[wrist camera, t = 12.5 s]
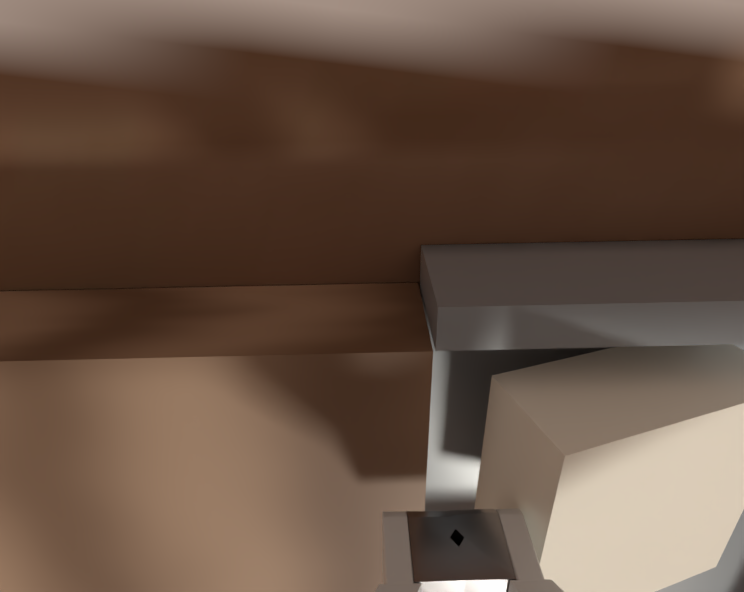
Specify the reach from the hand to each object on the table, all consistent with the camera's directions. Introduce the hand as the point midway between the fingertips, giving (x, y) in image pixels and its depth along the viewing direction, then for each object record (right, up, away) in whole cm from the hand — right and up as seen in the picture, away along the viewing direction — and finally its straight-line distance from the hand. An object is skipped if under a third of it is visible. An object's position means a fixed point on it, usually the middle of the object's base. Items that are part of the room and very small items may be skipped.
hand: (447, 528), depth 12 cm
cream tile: (+4, +1, +2) cm, 5 cm away
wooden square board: (-8, -2, +5) cm, 10 cm away
